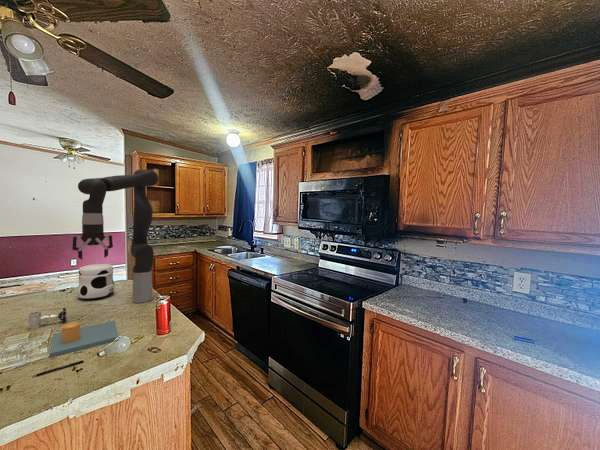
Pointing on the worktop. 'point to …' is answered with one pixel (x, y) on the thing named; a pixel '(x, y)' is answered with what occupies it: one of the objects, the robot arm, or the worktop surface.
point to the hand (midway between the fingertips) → (93, 258)
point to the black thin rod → (58, 368)
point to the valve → (43, 318)
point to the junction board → (85, 338)
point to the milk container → (95, 281)
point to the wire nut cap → (70, 332)
